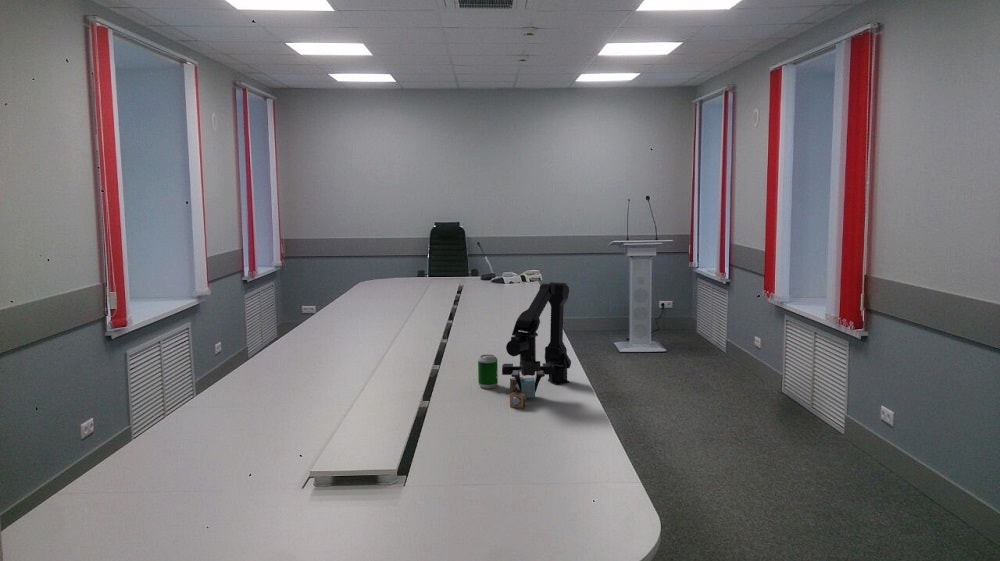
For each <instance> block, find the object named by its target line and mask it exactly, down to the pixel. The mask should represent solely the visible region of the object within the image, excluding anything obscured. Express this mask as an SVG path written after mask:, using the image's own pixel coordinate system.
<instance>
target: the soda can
mask: <svg viewBox="0 0 1000 561" xmlns="http://www.w3.org/2000/svg"><path fill="white" fill-rule="evenodd" d="M477 367H478V369H477V372H478V374H477V375H478V376H477V378H478V379H477V380H478V385H479V386H480V388H482V389H494V388H496V387H497V385H498V383H499V380H498V379H499V378H498V377H499V376H498V375H499V374H498V371H499V370H498V358H497V356H496V355H494V354H482V355H480V356H479V357H478V359H477Z"/></svg>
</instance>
